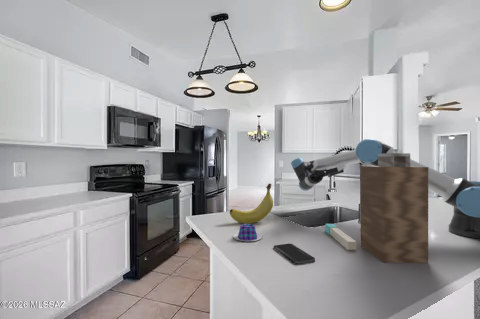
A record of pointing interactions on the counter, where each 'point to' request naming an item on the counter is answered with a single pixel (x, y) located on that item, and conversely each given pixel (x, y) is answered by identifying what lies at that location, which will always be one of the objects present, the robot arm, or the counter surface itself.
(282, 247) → the phone
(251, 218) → the banana
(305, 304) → the counter surface
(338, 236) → the cream teal square bar
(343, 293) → the counter surface
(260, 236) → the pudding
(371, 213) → the stand
